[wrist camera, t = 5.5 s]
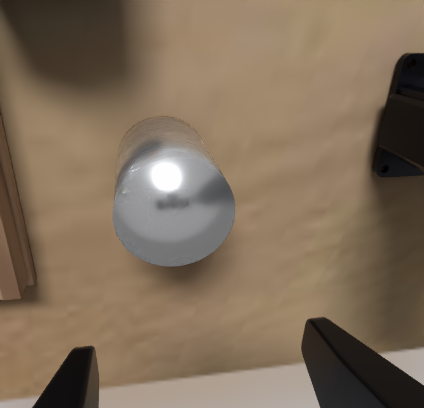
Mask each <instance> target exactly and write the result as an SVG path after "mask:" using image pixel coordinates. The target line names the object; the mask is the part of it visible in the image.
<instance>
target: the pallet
mask: <svg viewBox="0 0 424 408" xmlns="http://www.w3.org/2000/svg"><path fill="white" fill-rule="evenodd" d="M35 280H36V275H35V270H34V266H33V261H32V257H31V252H30V247H29V243H28V238H27V234H26V229H25V224H24V220H23V215H22V211H21V206H20V201H19V197H18V192H17V188H16V183H15V178H14V174H13V169H12V165H11V160H10V155H9V151H8V146H7V142H6V137H5V132H4V128H3V123H2V119H1V114H0V300H12V299H21V297H22V295H23V292H24V289H25V287H26V286H32V285H34V283H35Z"/></svg>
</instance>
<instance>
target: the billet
mask: <svg viewBox="0 0 424 408" xmlns="http://www.w3.org/2000/svg"><path fill="white" fill-rule="evenodd" d="M234 217H235V201H234V197H233V193H232V191H231V189H230V187H229V185H228V183H227V181H226V180H225V178H224V176H223V175H222V173H221V171H220V169H219V168H218V166H217V164H216V163H215V161H214V159H213V158H212V156H211V154H210V152H209V151H208V149H207V147H206V146H205V144H204V142H203V141H202V139H201V137H200V136H199V134H198V133H197V132H196V131H195V129H194V128H192V127H191V126H190V125H189V124H187V123H186V122H184V121H182V120H180V119H177V118H174V117H168V116H157V117H151V118H148V119H145V120H143V121H141V122H139V123H137V124H136V125H134V126H133V127H132V128H131V129H130V130H129V131H128V132H127V133H126V135H125V136H124V138H123V139H122V142H121V144H120V147H119V150H118V159H117V171H116V183H115V195H114V207H113V222H114V227H115V230H116V233H117V235H118V237H119V239H120V241H121V242H122V244H123V245H124V246H125V248H126V249H127V250H128V251H129V252H131V253H132V254H133V255H134V256H136V257H138V258H139V259H141V260H143V261H145V262H148V263H151V264H154V265H159V266H182V265H187V264H191V263H194V262H196V261H199V260H201V259H203V258H205V257H206V256H208V255H209V254H211V253H212V252H213V251H215V250H216V249H217V248H218V247H219V246H220V245H221V244H222V243H223V241H224V240H225V239H226V237H227V236H228V234H229V232H230V230H231V228H232V225H233V222H234Z"/></svg>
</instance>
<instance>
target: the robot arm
mask: <svg viewBox="0 0 424 408" xmlns="http://www.w3.org/2000/svg"><path fill="white" fill-rule="evenodd" d="M409 60H411V64H410V66H409V67H408V68H407V63H408V61H409ZM384 165H385V167H384V169H382V170H381V168H382V166H384ZM373 172H374V173H375V174H376V175H378V176H379V177H400V176H420V175H424V53H405V54H404V55H402V56H401V58H400V59H399V61H398V63H397V68H396V72H395V76H394V80H393V84H392V89H391V93H390V97H389V99H388V103H387V107H386V112H385V116H384V120H383V124H382V128H381V132H380V137H379V141H378V147H377V151H376V155H375V160H374V164H373ZM301 349H302V355H303V358H304V361H305V364H306V367H307V370H308V373H309V376H310V378H311V381H312V384H313V388H314V390H315V393H316V396H317V399H318V402H319V405H320V408H424V385H422V384H421V383H419V382H418V381H416V380H415V379H413V378H412V377H411V376H409V375H408V374H406V373H405V372H404V371H402V370H401V369H399V368H398V367H396V366H395V365H393V364H392V363H391V362H389V361H388V360H386V359H385V358H383V357H382V356H381V355H379V354H378V353H376V352H375V351H373V350H372V349H370V348H369V347H368V346H366V345H365V344H363V343H362V342H360V341H359V340H357V339H356V338H355V337H353V336H352V335H350V334H349V333H347V332H346V331H344V330H343V329H342V328H340V327H339V326H337V325H336V324H334V323H333V322H332V321H330V320H329V319H327V318H325V317H319V318H310V319H308V320H307V321H306V324H305V329H304V334H303V339H302V345H301ZM98 402H99V372H98V365H97V358H96V351H95V348H94V347H93V346H84V347H76V348H74V349H72V351H71V352H70V353H69V355H68V356H67V358H66V359H65V361H64V362H63V364H62V365H61V366H60V368H59V369H58V371H57V372H56V374H55V375H54V377H53V378H52V380H51V381H50V383H49V384H48V386H47V387H46V388H45V390H44V391H43V393H42V394H41V396H40V397H39V399H38V400H37V402H36V403H35V405H34V406H33V407H32V408H98V404H99V403H98Z"/></svg>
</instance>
